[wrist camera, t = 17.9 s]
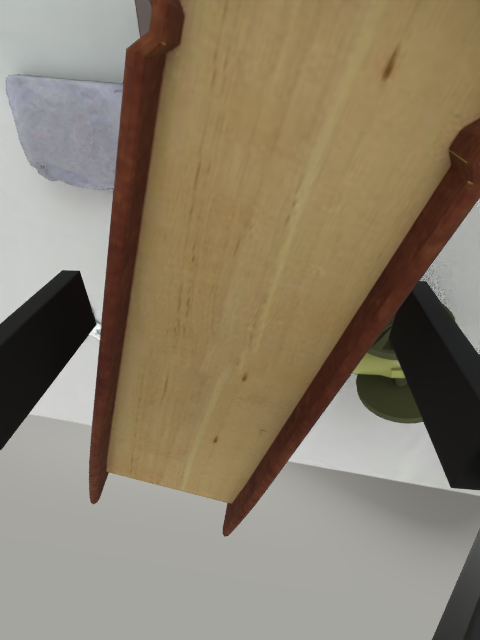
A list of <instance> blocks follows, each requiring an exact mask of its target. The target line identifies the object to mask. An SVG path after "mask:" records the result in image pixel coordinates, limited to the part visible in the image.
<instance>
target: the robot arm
mask: <svg viewBox="0 0 480 640" xmlns="http://www.w3.org/2000/svg"><path fill="white" fill-rule="evenodd" d="M96 325H97V324H96V321H95V318H94V314H93V311H92V308H91V305H90V302H89V299H88V295H87V292H86V289H85V286H84V283H83V280H82V277H81V273H80V271H66V270H62V271H61V272H60V273H59V274H58V275H57V276H55V277H54V278H53V279H52V280H51V281H50V282H48V283H47V284H46V285H45V286H44V287H43V288H41V289H40V290H39V291H38V292H37V293H36V294H34V295H33V296H32V297H31V298H30V299H29V300H28V301H26V302H25V303H24V304H23V305H22V306H21V307H19V308H18V309H17V310H16V311H15V312H14V313H12V314H11V315H10V316H9V317H8V318H7V319H5V320H4V321H3V322H2V323H1V324H0V450H1V449H2V448H3V447H4V446H5V444H6V443H7V441H8V440H9V439H10V438H11V436H12V435H13V434H14V432H15V431H16V430H17V428H18V427H19V426H20V425H21V423H22V422H23V421H24V419H25V418H26V417H27V415H28V414H29V413H30V411H31V410H32V409H33V407H34V406H35V405H36V404H37V402H38V401H39V400H40V398H41V397H42V396H43V394H44V393H45V392H46V390H47V389H48V388H49V386H50V385H51V384H52V382H53V381H54V380H55V379H56V377H57V376H58V375H59V373H60V372H61V371H62V369H63V368H64V367H65V365H66V364H67V363H68V361H69V360H70V359H71V358H72V356H73V355H74V354H75V352H76V351H77V350H78V348H79V347H80V346H81V344H82V343H83V342H84V340H85V339H86V338H87V336H88V335H89V334H90V333H91V331H92V330H93V329H94V327H95V326H96ZM389 340H390V342H391V345H392V347H393V350H394V352H395V354H396V357H397V359H398V362H399V364H400V366H401V369H402V371H403V374H404V376H405V378H406V381H407V383H408V386H409V388H410V390H411V393H412V395H413V398H414V400H415V402H416V405H417V407H418V410H419V412H420V414H421V417H422V419H423V422H424V424H425V426H426V429H427V431H428V434H429V436H430V438H431V441H432V443H433V446H434V448H435V450H436V453H437V455H438V458H439V460H440V462H441V465H442V467H443V470H444V472H445V474H446V477H447V479H448V482H449V484H450V486H451V488H459V489H471V490H480V354H478V353H477V352H476V350H475V349H474V348H473V346H472V345H471V343H470V342H469V341H468V339H467V338H466V336H465V335H464V334H463V332H462V331H461V329H460V328H459V327H458V325H457V324H456V323H455V321H454V320H453V318H452V317H451V316H450V314H449V313H448V311H447V310H446V309H445V307H444V306H443V304H442V303H441V302H440V300H439V299H438V297H437V296H436V295H435V293H434V292H433V291H432V289H431V288H430V286H429V285H428V284H427V282H421V281H419V282H418V283H417V284H416V286H415V287H414V289H413V290H412V291H411V293H410V294H409V295H408V297H407V298H406V300H405V301H404V302H403V304H402V305H401V306H400V308H399V309H398V311H397V312H396V314H395V318H394V321H393V325H392V328H391V331H390V335H389ZM432 640H480V529H479V532H478V534H477V537H476V539H475V541H474V543H473V546H472V548H471V550H470V553H469V555H468V557H467V560H466V562H465V564H464V567H463V569H462V572H461V573H460V576H459V578H458V580H457V583H456V585H455V587H454V590H453V592H452V595H451V597H450V599H449V601H448V604H447V606H446V608H445V611H444V613H443V615H442V618H441V620H440V622H439V625H438V627H437V629H436V632H435V634H434V636H433V639H432Z"/></svg>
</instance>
